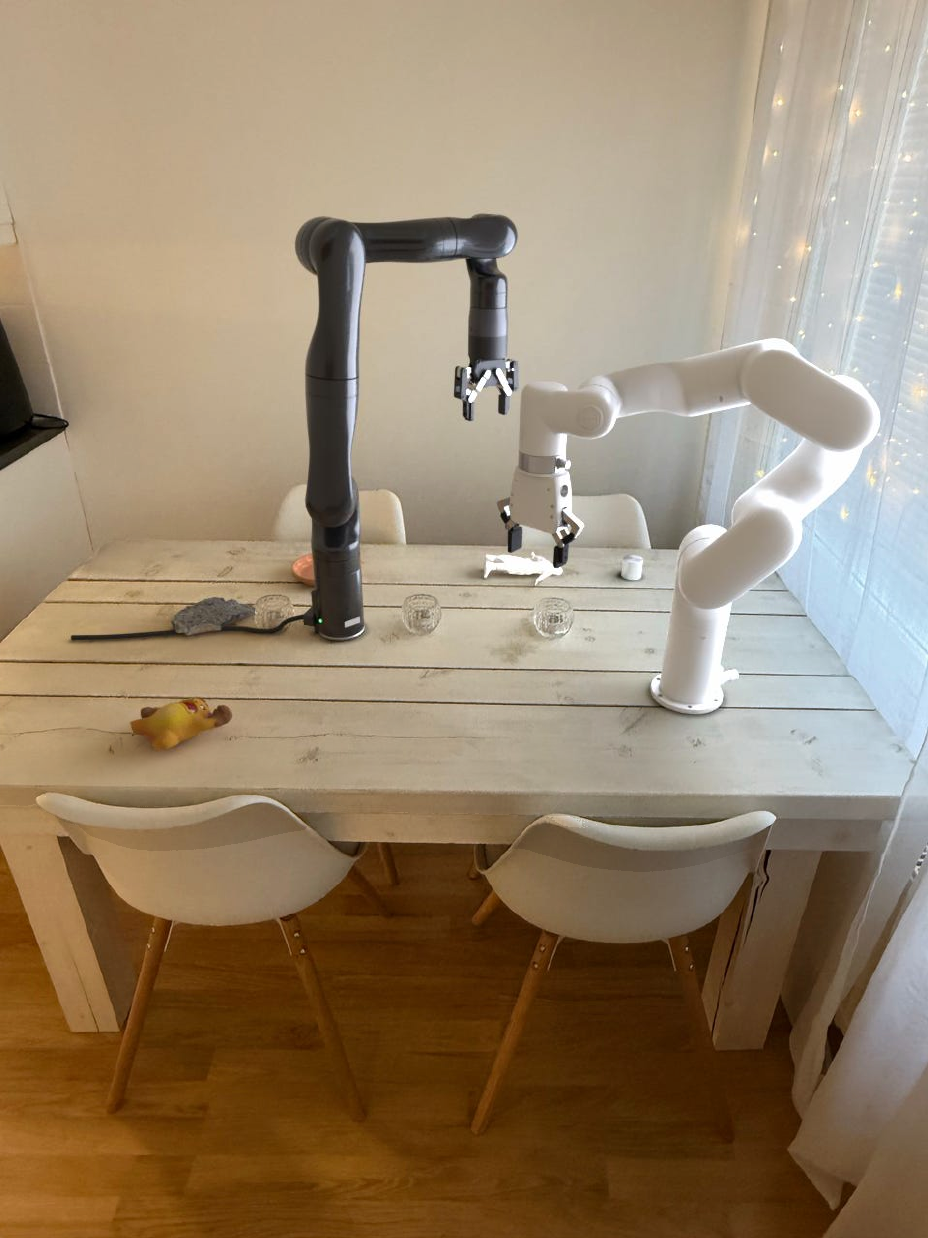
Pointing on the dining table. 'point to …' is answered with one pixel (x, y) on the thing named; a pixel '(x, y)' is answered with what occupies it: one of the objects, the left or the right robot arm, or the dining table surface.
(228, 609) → the stone slab
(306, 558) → the saucer
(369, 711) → the dining table surface
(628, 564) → the can
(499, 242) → the left robot arm
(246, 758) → the dining table surface
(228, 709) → the toy
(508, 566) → the figurine
